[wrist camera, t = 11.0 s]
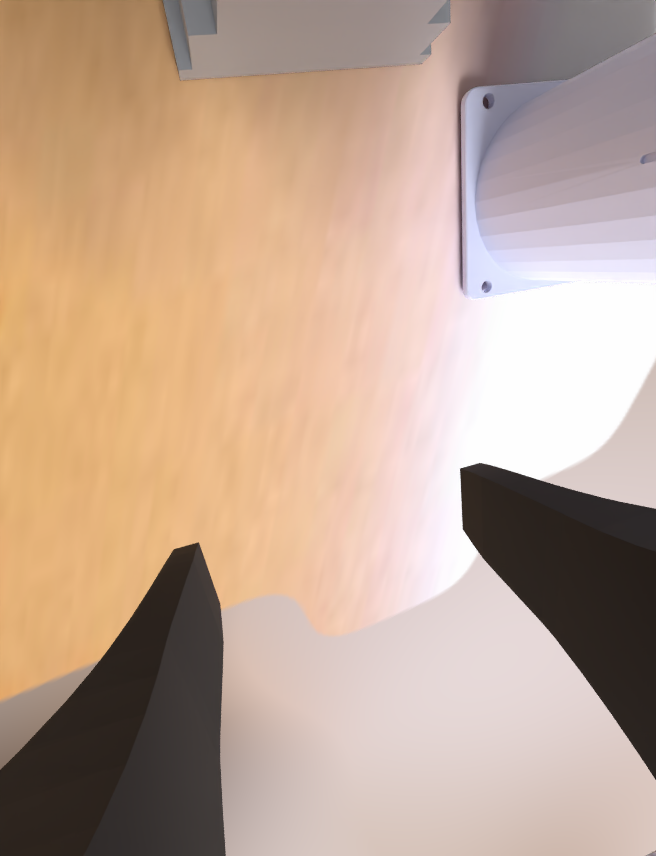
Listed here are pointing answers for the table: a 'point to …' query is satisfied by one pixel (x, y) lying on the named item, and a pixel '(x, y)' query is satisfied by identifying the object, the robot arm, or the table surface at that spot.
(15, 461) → the table surface
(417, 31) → the lane
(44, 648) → the table surface
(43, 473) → the table surface
